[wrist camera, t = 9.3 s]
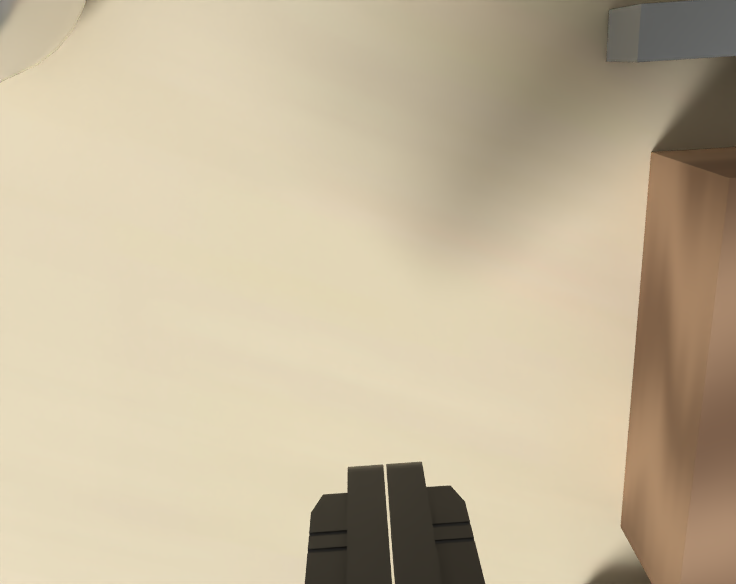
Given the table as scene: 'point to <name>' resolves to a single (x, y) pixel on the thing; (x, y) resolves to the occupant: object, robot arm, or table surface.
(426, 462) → the table surface
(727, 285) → the t block
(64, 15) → the plastic bottle
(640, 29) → the bay frame
